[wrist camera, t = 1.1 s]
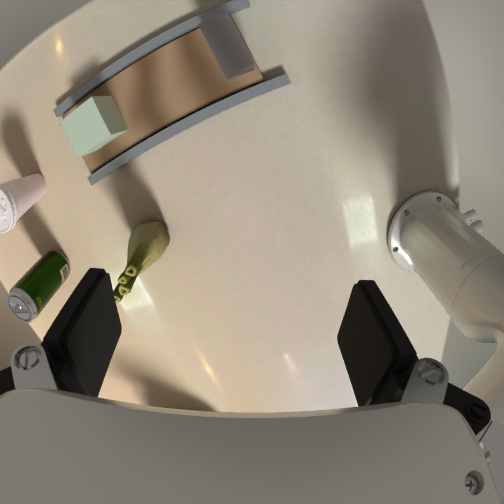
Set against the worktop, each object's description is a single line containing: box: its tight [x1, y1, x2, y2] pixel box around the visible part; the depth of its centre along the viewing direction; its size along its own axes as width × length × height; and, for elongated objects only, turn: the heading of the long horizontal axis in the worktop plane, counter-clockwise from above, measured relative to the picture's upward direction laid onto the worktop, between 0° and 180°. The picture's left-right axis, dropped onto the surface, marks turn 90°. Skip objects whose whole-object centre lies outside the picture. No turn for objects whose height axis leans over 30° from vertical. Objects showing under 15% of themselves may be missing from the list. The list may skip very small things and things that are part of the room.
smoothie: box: [0, 174, 46, 233], centre depth 28 cm, size 6×6×14 cm
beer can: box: [7, 250, 70, 323], centre depth 35 cm, size 5×5×12 cm
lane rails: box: [54, 0, 290, 185], centre depth 29 cm, size 27×12×1 cm, turn 114°
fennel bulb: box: [113, 221, 170, 303], centre depth 33 cm, size 6×5×12 cm
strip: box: [62, 12, 264, 172], centre depth 27 cm, size 24×9×7 cm, turn 114°
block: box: [60, 96, 128, 158], centre depth 28 cm, size 5×5×5 cm
